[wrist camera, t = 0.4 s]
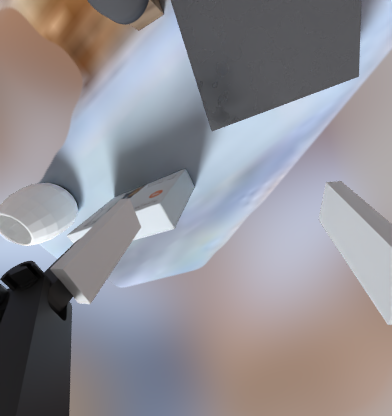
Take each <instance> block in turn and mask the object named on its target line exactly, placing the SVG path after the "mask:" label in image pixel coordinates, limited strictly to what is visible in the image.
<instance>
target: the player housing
mask: <svg viewBox="0 0 392 416" xmlns="http://www.w3.org/2000/svg"><path fill="white" fill-rule="evenodd" d="M171 2H172V6H173V9H174V12H175V15H176V18H177V22H178V25H179V28H180V31H181V34H182V38H183V41H184V44H185V47H186V50H187V54H188V57H189V60H190V63H191V66H192V70H193V73H194V76H195V79H196V82H197V86H198V89H199V92H200V95H201V98H202V101H203V105H204V108H205V111H206V114H207V117H208V121H209V124H210V127H211V130H212V131H214V130H217V129H220V128H222V127H225V126H228V125H230V124H233V123H236V122H238V121H241V120H244V119H246V118H249V117H252V116H255V115H257V114H260V113H263V112H265V111H268V110H271V109H273V108H276V107H279V106H281V105H284V104H287V103H289V102H292V101H295V100H297V99H300V98H303V97H305V96H308V95H311V94H313V93H316V92H319V91H321V90H324V89H327V88H329V87H332V86H335V85H337V84H340V83H343V82H345V81H348V80H351V79H354V78H356V77H359V55H360V24H361V0H171Z"/></svg>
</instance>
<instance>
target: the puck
mask: <svg viewBox="0 0 392 416" xmlns="http://www.w3.org/2000/svg"><path fill="white" fill-rule="evenodd" d="M88 2H89V3H90V4H91V5H92V6H93V8H94V9H96V10H97V11H98V12H99V13H101V14H103V15H104V16H106V17H108V18H109V19H111V20H113V21H114V22H116V23H119V24H131V23H133V22H135V21H137V20H138V19H139V18H140V17H141V16H142V15H143V13H144V12H145V10H146V8H147V5H148V2H149V0H88Z"/></svg>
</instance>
